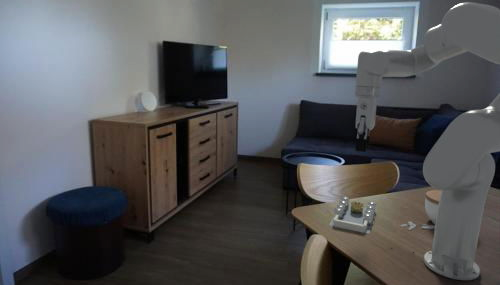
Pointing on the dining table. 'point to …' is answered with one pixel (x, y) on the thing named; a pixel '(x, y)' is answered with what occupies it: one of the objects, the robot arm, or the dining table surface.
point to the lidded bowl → (432, 204)
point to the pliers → (415, 226)
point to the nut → (357, 207)
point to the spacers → (345, 203)
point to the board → (352, 221)
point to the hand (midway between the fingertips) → (362, 148)
